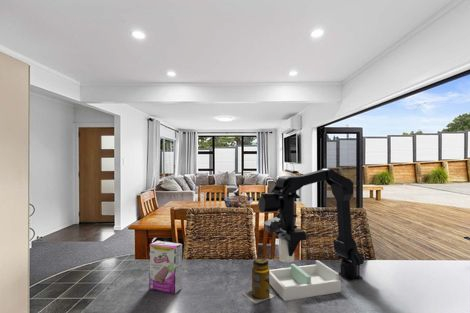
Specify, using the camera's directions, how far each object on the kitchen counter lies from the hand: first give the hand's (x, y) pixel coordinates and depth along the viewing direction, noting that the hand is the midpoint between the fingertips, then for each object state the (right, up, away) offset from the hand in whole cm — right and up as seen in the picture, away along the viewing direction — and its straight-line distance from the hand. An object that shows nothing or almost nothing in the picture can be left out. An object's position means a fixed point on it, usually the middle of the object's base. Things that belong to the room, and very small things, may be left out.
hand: (286, 253), depth 93 cm
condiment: (-11, -13, -6) cm, 18 cm away
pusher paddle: (+6, -11, +1) cm, 13 cm away
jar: (0, -2, 0) cm, 2 cm away
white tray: (+6, -13, +1) cm, 14 cm away
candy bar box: (-44, -13, -1) cm, 46 cm away
